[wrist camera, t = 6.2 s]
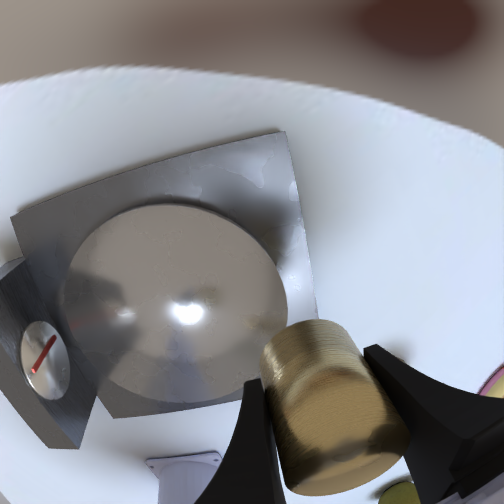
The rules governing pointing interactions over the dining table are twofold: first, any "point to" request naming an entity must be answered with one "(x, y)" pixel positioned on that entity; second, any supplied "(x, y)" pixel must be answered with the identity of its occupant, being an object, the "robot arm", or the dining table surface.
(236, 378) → the scale pan
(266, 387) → the cylinder
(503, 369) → the donut
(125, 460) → the dining table surface
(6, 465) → the dining table surface
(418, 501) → the apple
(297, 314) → the scale
